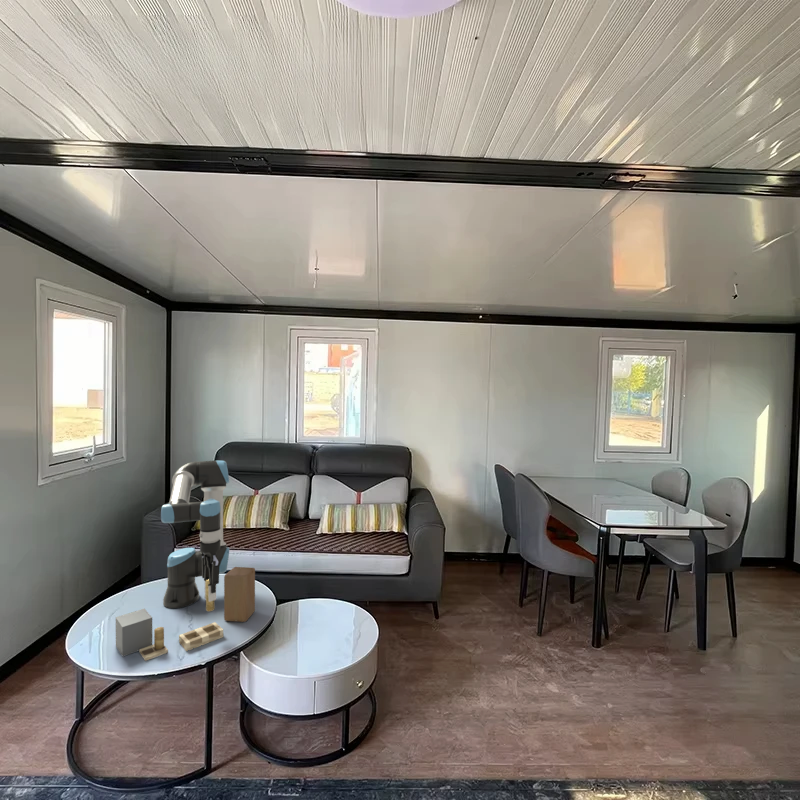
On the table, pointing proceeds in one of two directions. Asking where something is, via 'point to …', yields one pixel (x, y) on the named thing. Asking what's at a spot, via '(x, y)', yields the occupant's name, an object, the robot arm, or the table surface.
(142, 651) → the tan base with post
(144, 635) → the block
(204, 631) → the board
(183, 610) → the table surface
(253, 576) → the wooden block
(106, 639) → the table surface
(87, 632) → the table surface
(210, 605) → the pin
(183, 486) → the robot arm
